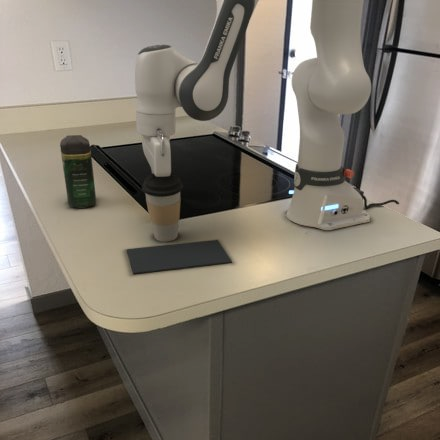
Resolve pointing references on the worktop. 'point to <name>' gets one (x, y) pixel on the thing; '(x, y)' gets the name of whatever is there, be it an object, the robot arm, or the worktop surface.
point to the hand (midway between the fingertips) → (156, 184)
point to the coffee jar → (78, 171)
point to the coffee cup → (163, 205)
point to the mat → (177, 256)
